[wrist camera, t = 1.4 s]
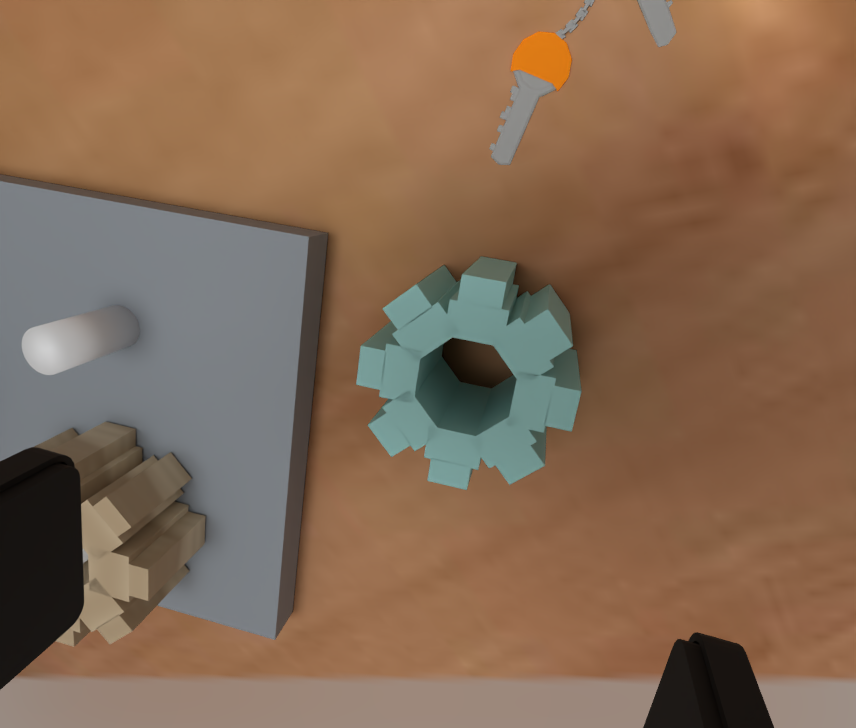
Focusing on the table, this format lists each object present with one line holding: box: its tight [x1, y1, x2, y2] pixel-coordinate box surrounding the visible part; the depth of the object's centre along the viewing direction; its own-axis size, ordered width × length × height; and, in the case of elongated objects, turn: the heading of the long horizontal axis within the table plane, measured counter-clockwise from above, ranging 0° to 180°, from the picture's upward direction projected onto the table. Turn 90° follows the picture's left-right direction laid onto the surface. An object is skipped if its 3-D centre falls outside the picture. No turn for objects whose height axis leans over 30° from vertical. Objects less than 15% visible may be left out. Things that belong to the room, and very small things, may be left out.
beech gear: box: [34, 422, 205, 647], centre depth 26 cm, size 8×8×4 cm
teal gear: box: [356, 256, 581, 490], centre depth 22 cm, size 7×7×5 cm
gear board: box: [0, 174, 328, 640], centre depth 25 cm, size 16×19×6 cm
